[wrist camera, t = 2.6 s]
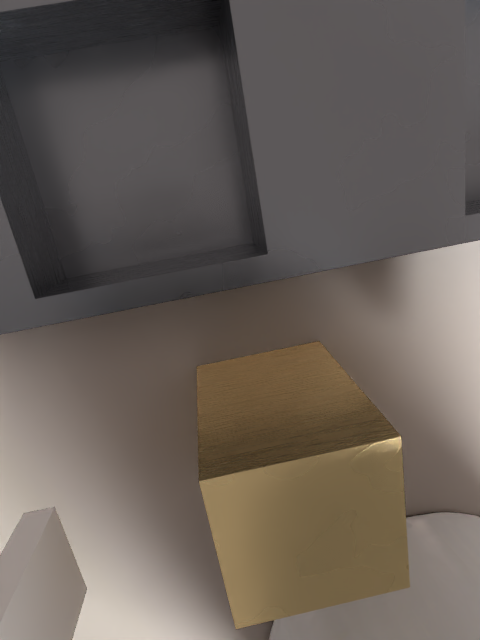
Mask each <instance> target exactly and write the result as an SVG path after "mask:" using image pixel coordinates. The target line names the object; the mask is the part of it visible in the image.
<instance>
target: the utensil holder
mask: <svg viewBox="0 0 480 640" xmlns="http://www.w3.org/2000/svg"><path fill="white" fill-rule="evenodd" d="M406 526H407V543H408V560H409V577H410V587H409V588H405V589H401V590H397V591H393V592H389V593H385V594H380V595H376V596H372V597H368V598H364V599H360V600H355V601H351V602H347V603H343V604H339V605H335V606H331V607H326V608H322V609H318V610H314V611H310V612H306V613H302V614H297V615H293V616H289V617H285V618H281V619H277V620H274V623H273V626H272V629H271V633H270V637H269V640H480V517H479V516H475V515H470V514H463V513H452V512H440V513H430V514H424V515H418V516H412V517H407V518H406Z"/></svg>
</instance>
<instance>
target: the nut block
mask: <svg viewBox="0 0 480 640" xmlns="http://www.w3.org/2000/svg"><path fill="white" fill-rule="evenodd" d="M197 411H198V468H199V484H200V488H201V492H202V496H203V500H204V504H205V508H206V512H207V516H208V520H209V524H210V528H211V532H212V536H213V540H214V544H215V548H216V552H217V556H218V560H219V564H220V568H221V572H222V576H223V580H224V584H225V588H226V592H227V596H228V600H229V604H230V608H231V612H232V616H233V620H234V624H235V628H236V629H239V628H244V627H248V626H252V625H256V624H260V623H264V622H268V621H273V620H277V619H281V618H285V617H289V616H293V615H297V614H302V613H306V612H310V611H314V610H318V609H322V608H326V607H331V606H335V605H339V604H343V603H347V602H351V601H355V600H360V599H364V598H368V597H372V596H376V595H380V594H385V593H389V592H393V591H397V590H401V589H405V588H409V587H410V577H409V560H408V543H407V526H406V509H405V492H404V475H403V458H402V441H401V436H400V435H399V433H398V432H397V431H396V430H395V429H394V428H393V426H392V425H391V424H390V423H389V422H388V421H387V419H386V418H385V417H384V416H383V415H382V414H381V412H380V411H379V410H378V409H377V408H376V407H375V406H374V404H373V403H372V402H371V401H370V400H369V399H368V397H367V396H366V395H365V394H364V393H363V392H362V390H361V389H360V388H359V387H358V386H357V385H356V383H355V382H354V381H353V380H352V379H351V378H350V376H349V375H348V374H347V373H346V372H345V371H344V369H343V368H342V367H341V366H340V365H339V364H338V363H337V361H336V360H335V359H334V358H333V357H332V356H331V354H330V353H329V352H328V351H327V350H326V349H325V347H324V346H323V345H322V344H321V343H320V342H319V341H317V342H312V343H308V344H303V345H298V346H293V347H288V348H283V349H279V350H274V351H269V352H264V353H259V354H254V355H249V356H245V357H240V358H235V359H230V360H225V361H220V362H216V363H211V364H206V365H201V366H197Z"/></svg>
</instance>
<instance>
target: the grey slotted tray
mask: <svg viewBox="0 0 480 640" xmlns="http://www.w3.org/2000/svg"><path fill="white" fill-rule="evenodd" d="M478 240H480V0H0V335H1V334H6V333H11V332H16V331H21V330H26V329H31V328H36V327H42V326H47V325H52V324H57V323H62V322H67V321H72V320H77V319H82V318H87V317H92V316H97V315H102V314H107V313H113V312H118V311H123V310H128V309H133V308H138V307H143V306H148V305H153V304H158V303H163V302H168V301H173V300H178V299H184V298H189V297H194V296H199V295H204V294H209V293H214V292H219V291H224V290H229V289H234V288H239V287H244V286H249V285H254V284H260V283H265V282H270V281H275V280H280V279H285V278H290V277H295V276H300V275H305V274H310V273H315V272H320V271H325V270H331V269H336V268H341V267H346V266H351V265H356V264H361V263H366V262H371V261H376V260H381V259H386V258H391V257H396V256H402V255H407V254H412V253H417V252H422V251H427V250H432V249H437V248H442V247H447V246H452V245H457V244H462V243H467V242H473V241H478Z"/></svg>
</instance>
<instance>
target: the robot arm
mask: <svg viewBox="0 0 480 640" xmlns="http://www.w3.org/2000/svg"><path fill="white" fill-rule="evenodd" d="M86 590H87V587H86V585H85V582H84V580H83V577H82V575H81V572H80V570H79V567H78V565H77V562H76V559H75V557H74V554H73V552H72V549H71V547H70V544H69V542H68V539H67V537H66V534H65V532H64V529H63V526H62V524H61V521H60V519H59V516H58V514H57V511H56V509H55V507H51V508H47V509H42V510H37V511H32V512H27V513H24V514H23V515H22V517H21V519H20V521H19V523H18V524H17V526H16V528H15V530H14V532H13V533H12V535H11V537H10V539H9V540H8V542H7V544H6V546H5V548H4V549H3V551H2V553H1V555H0V640H72V638H73V635H74V632H75V628H76V625H77V621H78V618H79V614H80V611H81V608H82V604H83V601H84V597H85V594H86Z"/></svg>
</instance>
